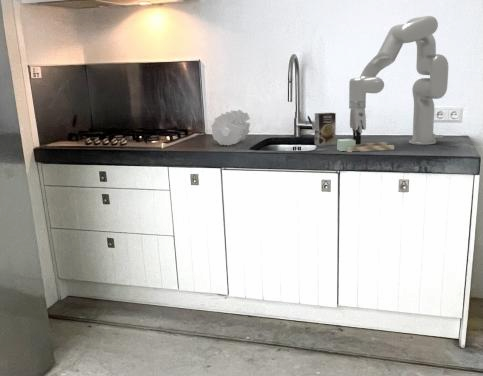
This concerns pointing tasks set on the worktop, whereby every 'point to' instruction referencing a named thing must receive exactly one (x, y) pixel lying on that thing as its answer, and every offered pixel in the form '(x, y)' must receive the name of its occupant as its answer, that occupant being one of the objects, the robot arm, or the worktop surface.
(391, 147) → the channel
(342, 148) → the sage block
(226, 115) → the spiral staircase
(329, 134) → the coffee box
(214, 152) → the worktop surface
